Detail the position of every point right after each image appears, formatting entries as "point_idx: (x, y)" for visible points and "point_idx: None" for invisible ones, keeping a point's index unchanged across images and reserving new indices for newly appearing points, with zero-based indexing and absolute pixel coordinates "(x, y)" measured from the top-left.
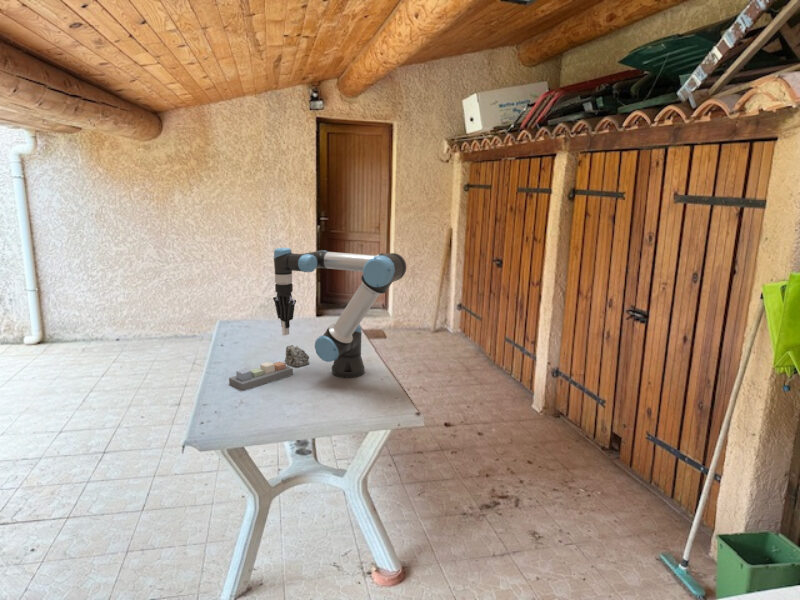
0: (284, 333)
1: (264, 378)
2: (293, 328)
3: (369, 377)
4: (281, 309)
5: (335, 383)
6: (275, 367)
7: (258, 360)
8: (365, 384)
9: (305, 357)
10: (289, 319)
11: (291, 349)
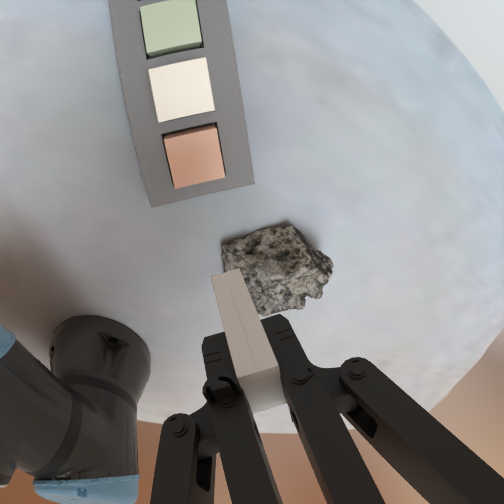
0: (216, 287)
1: (116, 50)
2: (467, 336)
3: None
4: (339, 500)
5: (21, 287)
6: (183, 133)
7: (386, 158)
8: None
9: None
10: (165, 435)
11: (289, 276)
